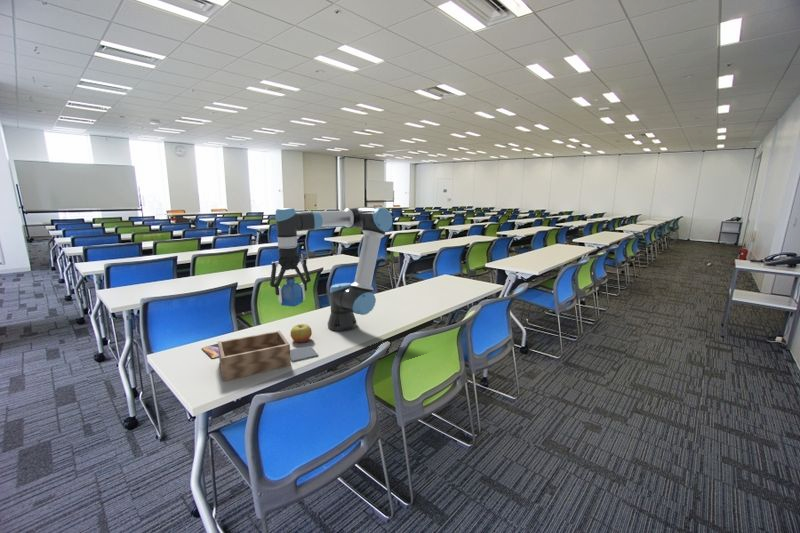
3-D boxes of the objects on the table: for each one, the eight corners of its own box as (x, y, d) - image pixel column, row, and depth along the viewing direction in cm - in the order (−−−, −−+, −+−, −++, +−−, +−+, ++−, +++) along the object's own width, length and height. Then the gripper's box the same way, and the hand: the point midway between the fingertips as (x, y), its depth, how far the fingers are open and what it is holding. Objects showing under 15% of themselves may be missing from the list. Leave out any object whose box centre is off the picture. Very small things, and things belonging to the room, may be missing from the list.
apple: (286, 340, 163) (286, 324, 161) (304, 334, 170) (304, 319, 168) (297, 346, 156) (297, 329, 155) (316, 340, 163) (315, 324, 162)
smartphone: (211, 358, 143) (200, 348, 153) (211, 360, 143) (200, 349, 153) (230, 353, 148) (218, 342, 158) (230, 354, 148) (218, 344, 158)
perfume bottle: (302, 302, 145) (300, 274, 143) (294, 306, 139) (292, 278, 137) (290, 301, 147) (288, 273, 144) (281, 305, 141) (279, 277, 138)
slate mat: (310, 346, 156) (310, 345, 156) (318, 356, 147) (318, 354, 147) (285, 352, 150) (285, 350, 150) (292, 362, 141) (292, 360, 141)
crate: (281, 349, 153) (279, 330, 151) (290, 365, 138) (289, 344, 136) (219, 362, 140) (217, 341, 138) (223, 381, 126) (221, 358, 124)
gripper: (311, 243, 147) (314, 294, 151) (258, 248, 136) (263, 302, 140) (316, 245, 140) (320, 298, 145) (261, 250, 130) (266, 307, 134)
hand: (292, 300), depth 143 cm, fingers closed on perfume bottle, 9 cm apart
